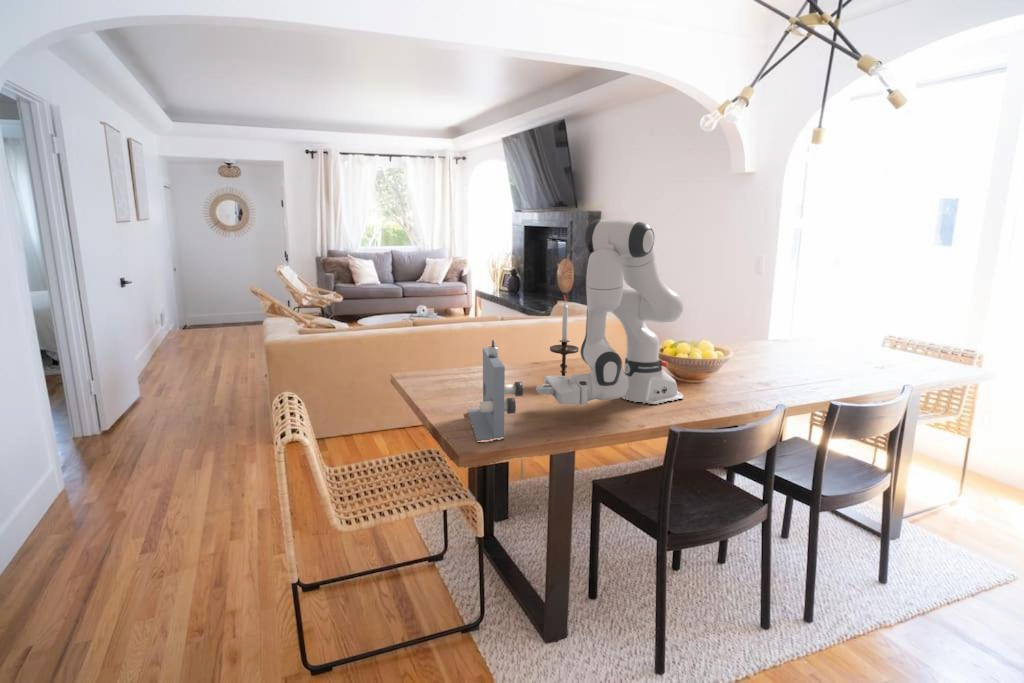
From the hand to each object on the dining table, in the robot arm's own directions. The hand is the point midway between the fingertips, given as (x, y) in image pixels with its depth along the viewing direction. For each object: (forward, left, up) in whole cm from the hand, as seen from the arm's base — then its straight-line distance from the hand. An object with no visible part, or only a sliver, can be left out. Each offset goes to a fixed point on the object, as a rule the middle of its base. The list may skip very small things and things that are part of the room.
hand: (537, 389), depth 187 cm
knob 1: (+17, +12, -2) cm, 21 cm away
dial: (+16, +4, +13) cm, 21 cm away
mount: (+18, +4, -9) cm, 21 cm away
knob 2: (+9, -3, -2) cm, 10 cm away
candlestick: (-22, -31, -9) cm, 39 cm away
